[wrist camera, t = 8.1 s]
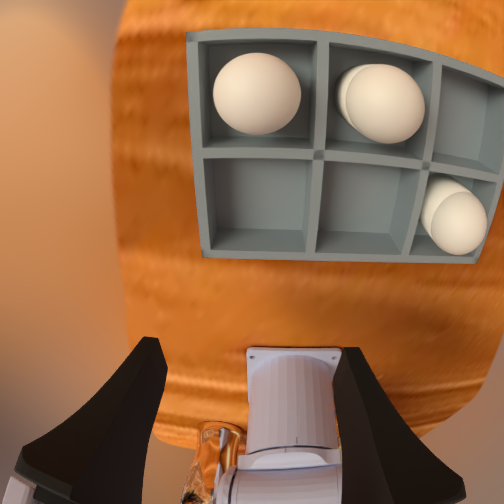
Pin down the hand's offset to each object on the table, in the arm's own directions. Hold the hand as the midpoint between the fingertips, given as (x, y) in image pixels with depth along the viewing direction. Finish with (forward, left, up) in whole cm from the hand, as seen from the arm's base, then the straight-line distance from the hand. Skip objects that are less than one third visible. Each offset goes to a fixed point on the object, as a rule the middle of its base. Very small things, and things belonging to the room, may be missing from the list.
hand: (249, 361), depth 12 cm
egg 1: (+9, 0, -9) cm, 13 cm away
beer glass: (-29, +5, -10) cm, 31 cm away
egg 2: (+9, -5, -9) cm, 14 cm away
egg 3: (+4, -11, -9) cm, 14 cm away
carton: (+6, -5, -9) cm, 12 cm away
